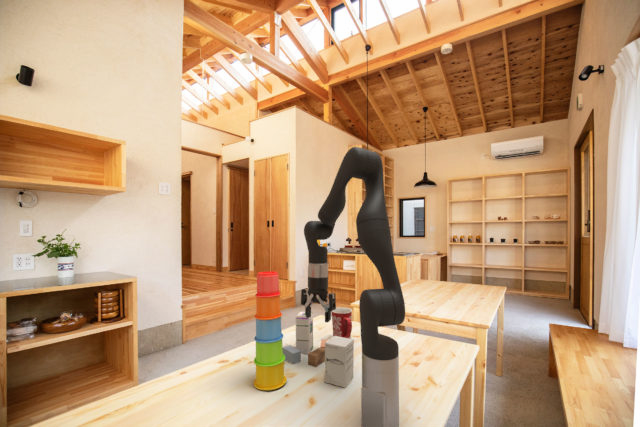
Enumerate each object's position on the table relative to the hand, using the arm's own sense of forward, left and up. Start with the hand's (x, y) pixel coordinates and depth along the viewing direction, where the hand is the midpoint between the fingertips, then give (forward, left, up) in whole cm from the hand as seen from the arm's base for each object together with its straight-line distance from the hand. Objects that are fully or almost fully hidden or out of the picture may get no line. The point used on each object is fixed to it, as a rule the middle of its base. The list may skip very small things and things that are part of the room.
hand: (317, 319), depth 107 cm
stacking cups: (-20, +4, -16) cm, 26 cm away
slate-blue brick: (-4, +9, -16) cm, 18 cm away
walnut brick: (0, 0, -16) cm, 16 cm away
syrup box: (+5, +10, -16) cm, 19 cm away
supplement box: (-6, -13, -16) cm, 21 cm away
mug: (+20, +1, -16) cm, 25 cm away
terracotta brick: (+8, +2, -16) cm, 17 cm away
